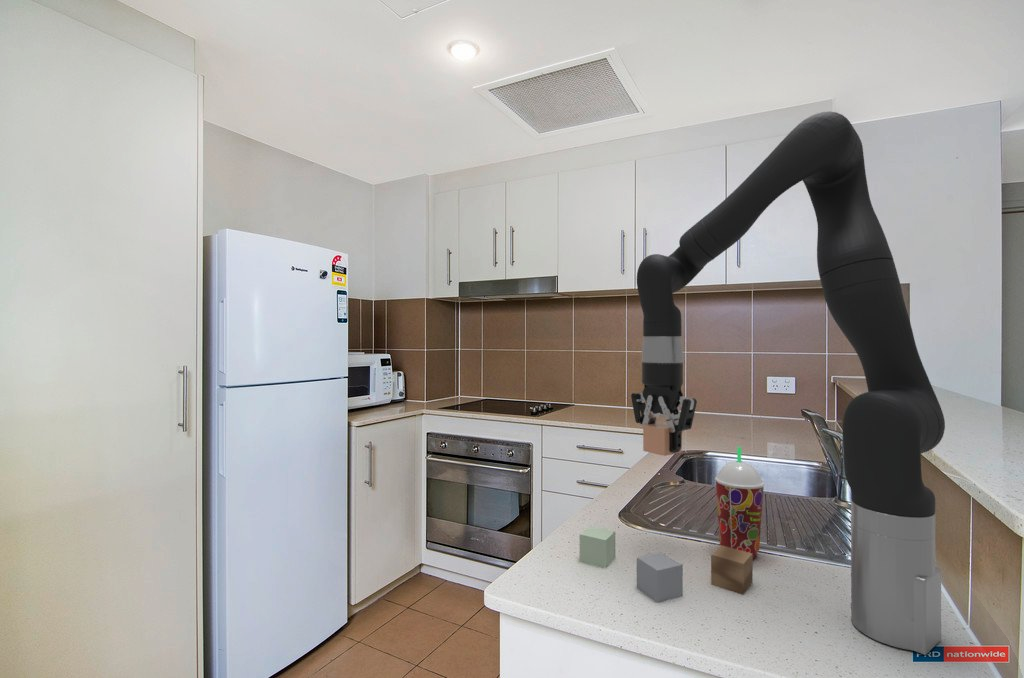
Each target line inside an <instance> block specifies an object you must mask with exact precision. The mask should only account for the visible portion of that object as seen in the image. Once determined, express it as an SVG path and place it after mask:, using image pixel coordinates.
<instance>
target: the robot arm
mask: <svg viewBox="0 0 1024 678" xmlns="http://www.w3.org/2000/svg"><path fill="white" fill-rule="evenodd" d="M863 147H864V146H863V143H862V140H861V138H860V135H859V134H858V133H857V131H856V129H855V128H854V125H853V124H852V123H851V121H850V120H849V119H848V118H847V117H846V116H844V115H843V114H842V113H838V112H837V111H822V112H817V113H815V114H812V115H809V116H808V117H806V118H804V119H803V120H802V121H800V123H798V124H797V125H796V126H795V127H794V128H793V129H792V130H791V131H790V132H789V133H788V134H787V135H786V136H785V137H784V138H783V140H782V141H780V142H779V144H778V145H777V146H776V147H775V148H774V149H773V150H772V151H771V153H770V154H768V156H766V157H765V159H764V160H763V161H762V162H761V163H760V164H759V165H758V166H757V167H756V168H755V169H754V170H753V171H752V172H751V173H750V174H749V175H748V176H747V178H746V179H744V181H742V182H741V183H740V185H738V186H737V187H736V189H734V190H733V191H732V192H731V193H730V194H729V195H728V196H727V197H726V198H725V199H724V200H723V201H721V202H720V203H719V204H718V205H717V206H716V207H715V208H713V209H712V210H711V211H710V212H708V213H707V214H706V215H705V216H704V217H702V218H701V219H700V220H699V221H696V223H694V225H692V226H691V227H690V228H689V229H687V230H686V231H685V232H684V233H683V234H682V236H680V239H679V246H678V247H677V248H676V249H675V250H674V251H673V252H672V253H671V254H670V255H668V256H667V255H664V254H659V253H654V254H650V255H648V256H646V257H645V258H643V259H642V261H641V262H640V263H639V264H638V265H639V266H638V268H637V272H636V288H637V293H638V297H639V302H640V307H641V309H642V315H643V323H642V324H643V325H642V326H643V328H642V329H643V330H642V333H643V334H642V335H643V337H642V347H641V383H642V385H644V387H643V390H642V392H633V393H631V394H630V397H631V404H632V409H633V414H634V419H635V420H634V421H635V422H636V423H637V424H641V425H642V426H643V425H646V424H653V423H657V420H658V418H659V417H660V416H661V415H663V418H664V420H665V421H666V422H667V424H668V426H669V429H670V433H669V451H670V452H672V453H675V452H679V450H680V449H681V447H682V448H683V445H682V444H681V443H682V442H681V441H683V437H682V436H683V435H682V432H684V431H687V430H691V429H692V426H693V421H694V417H695V413H696V408H697V404H698V401H697V399H696V398H693V397H692V398H689V397H687V396H684V394H683V392H682V386H683V382H684V349H683V341H682V340H683V338H682V332H683V331H682V329H683V328H682V327H683V326H682V313H681V310H680V308H679V307H677V306H676V305H675V302H674V301H675V300H674V293H676V292H678V291H680V290H682V289H683V288H685V287H686V286H687V285H688V284H689V283H691V282H692V280H694V279H695V278H696V276H698V274H700V272H701V271H702V270H703V269H704V267H706V265H707V264H709V263H710V262H711V261H714V260H715V259H716V258H717V257H718V256H721V254H723V252H726V251H727V250H728V249H729V248H731V247H732V246H734V244H735V243H738V241H739V240H740V239H741V238H743V237H744V236H745V234H746V233H748V232H749V230H750V229H751V228H752V226H753V225H754V224H755V223H756V221H757V220H758V219H759V217H760V216H761V215H762V214H763V213H764V211H766V210H767V208H768V207H770V206H771V204H772V203H773V202H774V201H775V200H777V199H778V198H779V197H780V196H781V195H783V194H784V193H785V192H787V191H788V190H790V189H791V188H792V187H794V186H796V185H797V184H799V183H800V182H803V183H804V186H805V188H806V191H807V193H808V196H809V198H810V202H811V204H812V207H813V210H814V213H815V217H816V223H817V239H816V262H817V263H816V264H817V269H818V275H819V276H818V277H819V280H820V284H821V288H822V292H823V296H824V300H825V303H826V306H827V308H828V311H829V313H830V315H831V316H832V318H833V320H834V322H835V324H836V325H837V326H838V328H839V329H840V331H841V332H842V334H843V335H844V336H845V338H846V339H847V341H848V342H849V343H850V344H851V346H852V348H853V349H854V351H855V353H856V355H857V357H858V358H859V361H860V363H861V366H862V370H863V373H864V376H865V377H864V378H865V382H866V387H867V392H863V393H861V394H858V395H856V396H854V397H853V398H852V399H851V401H850V402H848V404H847V406H846V408H845V410H844V413H843V419H842V450H843V451H842V452H843V453H842V454H843V468H844V476H845V480H846V482H847V483H848V486H849V489H850V522H851V523H850V595H851V596H850V611H851V612H850V613H851V614H850V620H851V622H852V624H853V625H854V627H855V628H856V629H857V630H858V631H860V632H861V633H863V634H864V635H865V636H867V637H869V638H871V639H873V640H875V641H877V642H880V643H882V644H885V645H888V646H891V647H894V648H897V649H903V650H908V651H914V652H916V653H919V654H921V655H923V656H924V655H925V656H926V655H927V654H929V652H930V651H931V650H933V648H935V646H937V644H938V643H939V642H940V641H941V640H942V570H941V568H940V567H937V566H936V497H935V494H934V492H933V491H932V489H930V488H929V487H928V486H926V485H925V484H924V482H923V476H922V456H921V454H923V453H927V452H930V451H931V450H933V449H934V448H936V447H937V446H938V445H939V444H940V442H941V441H942V439H943V437H944V434H945V429H946V421H945V416H944V413H943V410H942V407H941V405H940V402H939V400H938V399H939V398H938V396H937V395H936V392H935V390H934V388H933V386H932V383H931V381H930V379H929V376H928V374H927V372H926V370H925V367H924V365H923V361H922V359H921V356H920V353H919V351H918V347H917V344H916V340H915V336H914V332H913V328H912V323H911V320H910V316H909V313H908V310H907V306H906V303H905V299H904V295H903V289H902V286H901V285H902V284H901V281H900V277H899V274H898V271H897V267H896V265H895V261H894V257H893V255H892V251H891V249H890V246H889V242H888V240H887V237H886V234H885V233H884V230H883V228H882V225H881V223H880V220H879V219H878V216H877V215H876V212H875V210H874V207H873V205H872V201H871V198H870V194H869V193H870V191H869V185H868V180H867V174H866V166H865V165H866V164H865V156H864V155H865V154H864V148H863ZM680 409H681V410H680Z"/></svg>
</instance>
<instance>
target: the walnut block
mask: <svg viewBox="0 0 1024 678" xmlns="http://www.w3.org/2000/svg"><path fill="white" fill-rule="evenodd" d="M753 559H754V558H753V553H749V552H745V551H741V550H738V549H734V548H730V547H726V546H723V545H720V546H719V547H717V549H716V550H714V552H712V553H711V555H710V563H711V564H710V585H711V586H715V587H716V588H717V587H718V588H720V589H724V590H726V591H730V592H733V593H737V594H740V595H742V596H744V595H745V594H746V593H747V591H748V590H749V588H750V587H751V586H752V585H753V579H754V578H753V573H754V572H753V571H754V570H753V569H754V567H753V565H754V563H753V562H754V561H753Z"/></svg>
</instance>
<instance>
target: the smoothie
mask: <svg viewBox="0 0 1024 678" xmlns="http://www.w3.org/2000/svg"><path fill="white" fill-rule="evenodd" d="M736 448H737V452H736V453H737V454H736V455H737V459H736V460H734V461H730V462H727V463H725V465H723V466H722V467H721V468H720V470H719V471H718V473H717V475H716V476H715V477H714V480H715V490H716V504H717V505H716V506H717V507H716V509H717V519H718V520H717V521H718V522H717V523H718V537H719V545H720V546H721V545H723V546H726V547H730V548H734V549H738V550H741V551H745V552H749V553H753V559H754V558H756V556H757V552H759V551H760V546H761V530H762V515H763V502H764V501H763V500H764V487H765V483H764V481H763V480H762V478H761V476H760V474H759V472H758V471H757V469H756V468H755V467H754V466H752V465H751V464H749V463H747V462H745V461H742V447H741V446H737V447H736Z"/></svg>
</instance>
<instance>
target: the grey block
mask: <svg viewBox="0 0 1024 678" xmlns="http://www.w3.org/2000/svg"><path fill="white" fill-rule="evenodd" d="M683 569H684V567H683V563H680V562H679V561H677V560H675V559H673V558H672V557H671V556H669V555H667V554H666V553H663V552H662V551H660V552H655V553H651V554H645V555H642V556H641V555H640V556H638V557H636V589H638V590H639V591H641V593H643V594H644V595H646V596H647V597H649V598H650V599H652V600H653V601H654V602H655V603H662V602H666V601H670V600H672V599H673V600H674V599H676V598H680V597H683V595H684V594H683V593H684V590H683V589H684V588H683V587H684V585H683V584H684V583H683V581H684V570H683Z"/></svg>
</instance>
